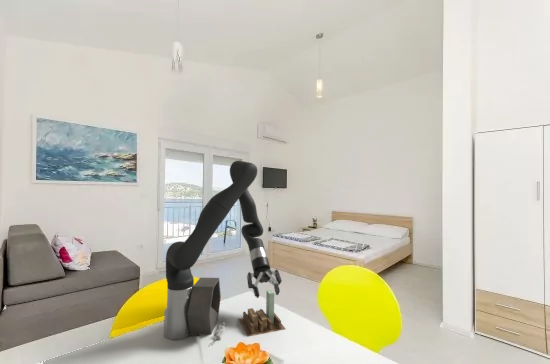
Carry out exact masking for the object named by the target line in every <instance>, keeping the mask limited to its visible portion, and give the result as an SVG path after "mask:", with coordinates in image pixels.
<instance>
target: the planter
mask: <svg viewBox="0 0 550 364" xmlns="http://www.w3.org/2000/svg"><path fill="white" fill-rule="evenodd" d="M220 306H221V283H220V277H199V278H198V280H196V282H195V283H194V286H193V288H192V293H191V299H190V304H189V310H188V322H189V329H190V335H189V336H194V337H195V336H196V337H197V336H198V337H199V336H200V335H213V333H214V330H215V327H216V324H217V322H218V320H219V313H220Z"/></svg>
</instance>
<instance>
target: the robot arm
mask: <svg viewBox="0 0 550 364" xmlns="http://www.w3.org/2000/svg"><path fill="white" fill-rule="evenodd" d="M229 176H230V179H231V182H232V183H231V184H230V185H229V186H228V187H226V188H225V189H222V190H221V191H219V192H218V193H216V194H215V195H213V196H212V197H211V198H210V199H209V200H208V202H207V203H206V205H205V206H204V207H203V208H202V210H201V212H200V213H199V215H198V218H197V223H196V225H195V227H194V229H193V230H192V232H191V234H190V235H189V236H188V237H187V239H185V241H174V242H173V243H172V244H170V246H169V247H168V248H167V250H166V255H165V279H166V283H167V289H166V290H167V291H166V293H167V295H166V308H165V309H164V319H163V322H164V323H163V324H164V325H163V337H164V338H168V339H170V340H175V341H177V340H182V339H186V338H187V337H189V336H191V335H190V329H189V322H188V310H189V304H190V299H191V293H192V288H193V286H194V284H195V283H194V281H195V279H194V276H193V274H192V270H191V268H192V267H193V266H194V265H196V263H197V262H198V260H199V257H200V256H201V254H202V252H203V251H204V249H205V248H206V246H207V243H208V242H209V240H211V237H212V236H213V235H214V233H215V232H216V231H217V229H218V228H219V226H220V225H221V224H222V223H223V221H224V220H225V218H227V216H228V214H229V213H230V211H231V210H232V208H233V206H235V204H236V203H237V201H238V202H239V205H240V210H241V216H242V220H243V222H244V223H247V224H244V225H243V226H242V227H241V229H240V230H241V236H242V238H243V239H244V241H245V242H246V244H247V246H248V251H249V256H250V257H249V258H250V262H251V266H252V271H253V273H252V272H250V271H249V272H248V273H247V275H246V279H247V287H248V289H252V290H253V294H254V296H255V298H256V299H259V298H260V291H259V287H258V284H259V283H260V284H264V283H269V284H270V285H272V286H273V287H274V288H273V289H274V294H275V295H276V296H278V295H279V294H280V292H281V289H280V286H279V285H281V284H282V278H281V275H280V272H279V269H275V270H272V269H271V265H270V261H269V258H268V253H267V252H266V249H265V245H264V241H263V239H261V238H260V237H261V236H263V233H264V228H263V225H262V223H261V221H260V219H259V217H258V210H257V206H256V202H255V199H254V198H253V196H252V194H251V193H250V191H249V187H250V186H251V184H253V182H254V181H255V179H256V178H257V176H258V166H257V165H256V164H254V163H252V162H249V161H248V162H247V161H242V160H235V161H232V163H231V165H230V167H229ZM253 277H254V279H255V283H253Z"/></svg>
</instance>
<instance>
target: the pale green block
mask: <svg viewBox="0 0 550 364" xmlns="http://www.w3.org/2000/svg"><path fill="white" fill-rule="evenodd" d="M265 292H266V299H265V300H266V302H265V303H266V306H265V308H266V309H265V314H266V315H267V316H268V317H269V319H270V320H271V321H272V324H274V313H275V291H273V290H272V289H267V290H266V291H265Z"/></svg>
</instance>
